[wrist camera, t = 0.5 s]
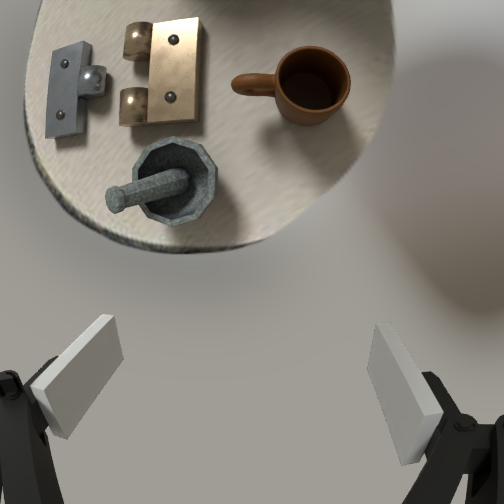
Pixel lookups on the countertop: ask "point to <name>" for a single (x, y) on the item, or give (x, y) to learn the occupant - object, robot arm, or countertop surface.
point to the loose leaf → (71, 89)
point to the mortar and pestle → (169, 182)
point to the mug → (302, 85)
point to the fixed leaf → (163, 73)
